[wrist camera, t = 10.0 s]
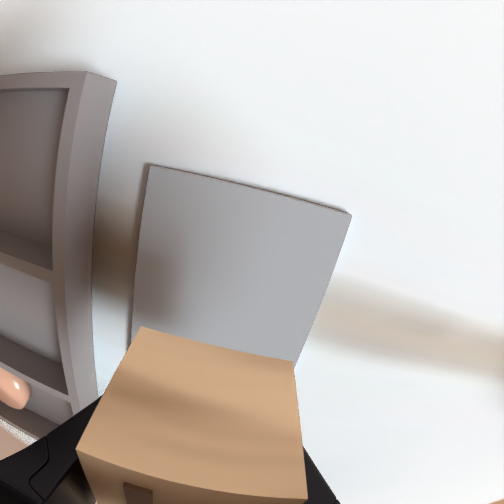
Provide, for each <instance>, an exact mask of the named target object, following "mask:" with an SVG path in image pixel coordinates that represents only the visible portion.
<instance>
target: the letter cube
mask: <svg viewBox="0 0 504 504" xmlns="http://www.w3.org/2000/svg"><path fill="white" fill-rule="evenodd" d="M76 452H77V454H78V457H79V460H80V463H81V465H82V468H83V470H84V473H85V475H86V478H87V480H88V483H89V485H90V488H91V490H92V492H93V494H94V497H95V499H96V501H97V503H98V504H303V503H304V502H305V501H306V500H307V499H308V494H307V484H306V474H305V464H304V454H303V445H302V435H301V426H300V417H299V409H298V400H297V392H296V383H295V375H294V367H293V361H288V360H282V359H277V358H271V357H266V356H261V355H256V354H251V353H246V352H241V351H237V350H232V349H228V348H223V347H219V346H215V345H210V344H206V343H202V342H198V341H194V340H190V339H186V338H182V337H178V336H175V335H171V334H167V333H163V332H160V331H156V330H153V329H149V328H146V327H142V326H141V327H140V329H139V331H138V332H137V334H136V336H135V338H134V339H133V341H132V343H131V345H130V346H129V348H128V350H127V352H126V353H125V355H124V357H123V359H122V361H121V362H120V364H119V366H118V368H117V370H116V372H115V373H114V375H113V377H112V379H111V381H110V383H109V384H108V386H107V388H106V390H105V392H104V394H103V396H102V398H101V400H100V401H99V403H98V405H97V407H96V409H95V411H94V413H93V415H92V417H91V419H90V421H89V423H88V425H87V427H86V429H85V431H84V433H83V435H82V437H81V439H80V441H79V443H78V445H77V447H76Z"/></svg>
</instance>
